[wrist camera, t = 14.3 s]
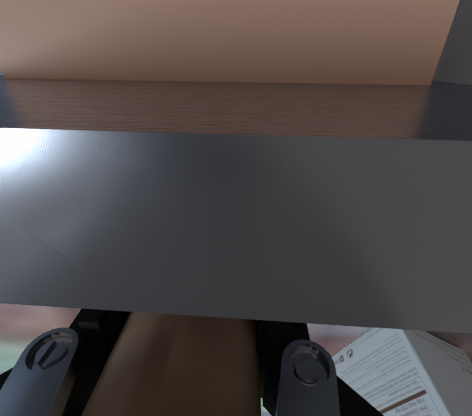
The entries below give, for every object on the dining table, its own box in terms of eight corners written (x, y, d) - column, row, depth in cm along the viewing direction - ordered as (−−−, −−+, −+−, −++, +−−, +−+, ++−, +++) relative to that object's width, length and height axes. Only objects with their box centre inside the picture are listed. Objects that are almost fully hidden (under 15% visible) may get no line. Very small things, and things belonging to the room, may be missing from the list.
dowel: (181, 251, 14) (79, 539, 6) (173, 185, 12) (-1, 476, 4) (253, 254, 14) (258, 554, 6) (257, 188, 12) (273, 496, 4)
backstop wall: (112, 113, 13) (-328, 282, 3) (103, 68, 12) (-573, 111, 2) (356, 119, 13) (738, 351, 3) (366, 72, 12) (1045, 157, 2)
